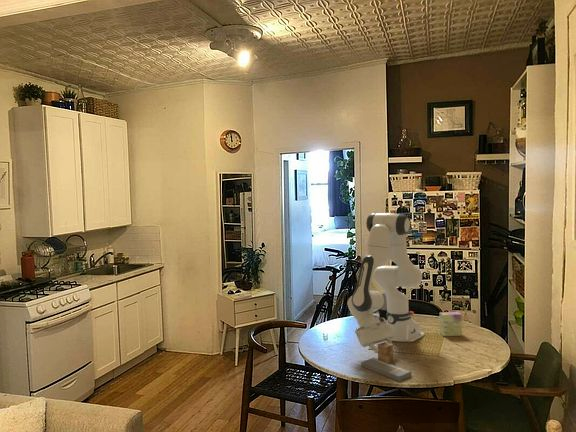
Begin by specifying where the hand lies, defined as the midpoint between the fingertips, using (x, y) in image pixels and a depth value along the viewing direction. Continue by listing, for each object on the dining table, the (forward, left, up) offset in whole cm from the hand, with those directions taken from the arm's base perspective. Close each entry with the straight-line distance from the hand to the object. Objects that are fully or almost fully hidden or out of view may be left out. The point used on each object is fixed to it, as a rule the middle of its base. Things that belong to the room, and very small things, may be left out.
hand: (384, 350), depth 216 cm
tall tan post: (0, 0, -5) cm, 5 cm away
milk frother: (-51, -49, -6) cm, 71 cm away
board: (+9, +8, -5) cm, 13 cm away
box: (-56, -4, -6) cm, 57 cm away
